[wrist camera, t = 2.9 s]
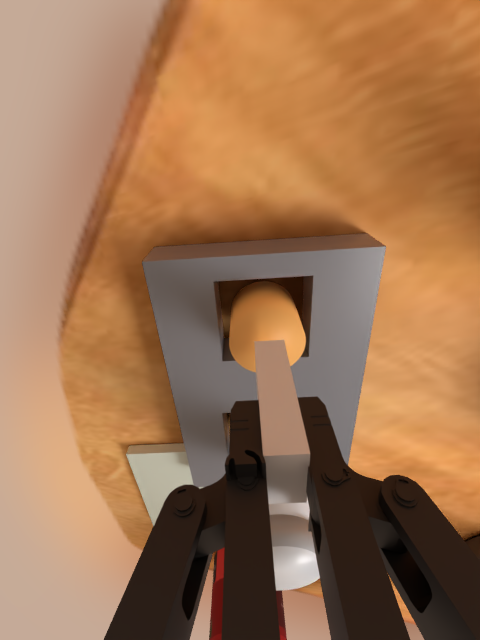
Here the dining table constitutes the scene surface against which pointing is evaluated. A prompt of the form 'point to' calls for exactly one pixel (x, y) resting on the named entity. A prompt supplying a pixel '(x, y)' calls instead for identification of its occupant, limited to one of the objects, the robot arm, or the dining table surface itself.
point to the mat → (159, 472)
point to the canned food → (218, 601)
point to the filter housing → (213, 349)
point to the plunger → (264, 322)
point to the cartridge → (292, 546)
